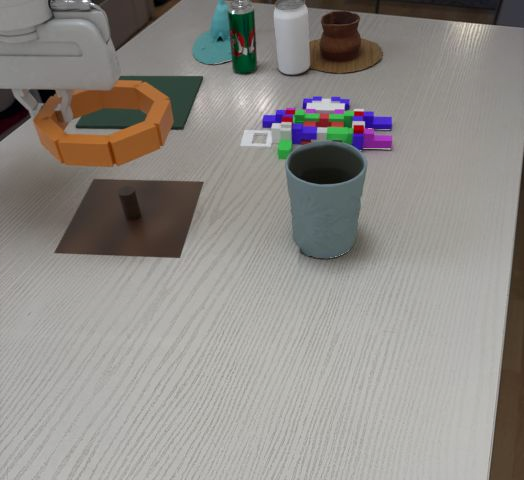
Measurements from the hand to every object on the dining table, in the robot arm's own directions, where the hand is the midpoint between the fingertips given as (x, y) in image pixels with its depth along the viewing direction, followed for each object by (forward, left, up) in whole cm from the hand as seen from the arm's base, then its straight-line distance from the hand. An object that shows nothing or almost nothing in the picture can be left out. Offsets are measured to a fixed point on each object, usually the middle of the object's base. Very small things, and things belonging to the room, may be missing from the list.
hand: (53, 120), depth 70 cm
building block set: (+33, +26, -15) cm, 45 cm away
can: (+27, +50, -15) cm, 59 cm away
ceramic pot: (+36, +57, -15) cm, 69 cm away
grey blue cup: (+35, -3, -15) cm, 39 cm away
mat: (-1, +36, -15) cm, 39 cm away
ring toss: (+7, 0, -15) cm, 17 cm away
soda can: (+17, +50, -15) cm, 55 cm away
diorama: (+10, +62, -15) cm, 64 cm away
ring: (+7, 0, -2) cm, 7 cm away
